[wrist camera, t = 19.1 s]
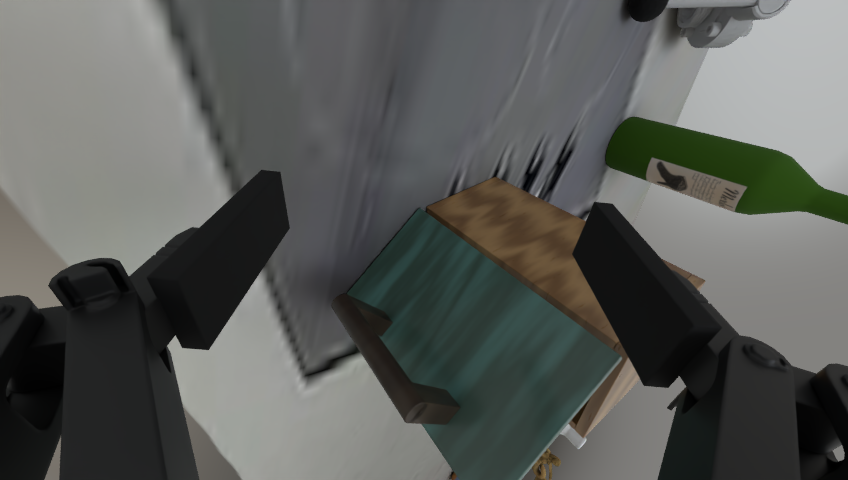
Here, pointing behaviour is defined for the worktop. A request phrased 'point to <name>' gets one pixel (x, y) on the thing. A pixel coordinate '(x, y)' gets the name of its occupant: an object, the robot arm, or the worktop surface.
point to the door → (470, 351)
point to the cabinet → (542, 268)
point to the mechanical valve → (710, 17)
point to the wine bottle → (720, 170)
